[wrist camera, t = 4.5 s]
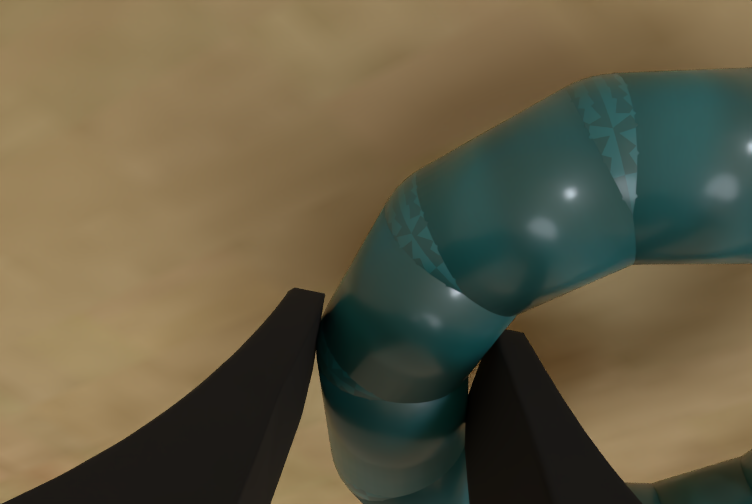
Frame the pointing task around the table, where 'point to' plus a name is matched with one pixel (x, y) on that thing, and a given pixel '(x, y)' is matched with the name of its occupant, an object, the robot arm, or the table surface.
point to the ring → (527, 264)
